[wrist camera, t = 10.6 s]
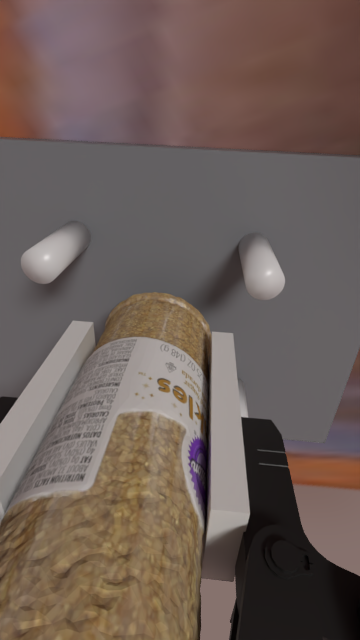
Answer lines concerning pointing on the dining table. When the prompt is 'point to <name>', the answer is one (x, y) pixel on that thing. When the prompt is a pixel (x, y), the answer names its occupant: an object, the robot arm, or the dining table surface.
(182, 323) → the sprinkles bottle
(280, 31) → the dining table surface
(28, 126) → the dining table surface
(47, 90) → the dining table surface
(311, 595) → the robot arm
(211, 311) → the pin tray
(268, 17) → the dining table surface
